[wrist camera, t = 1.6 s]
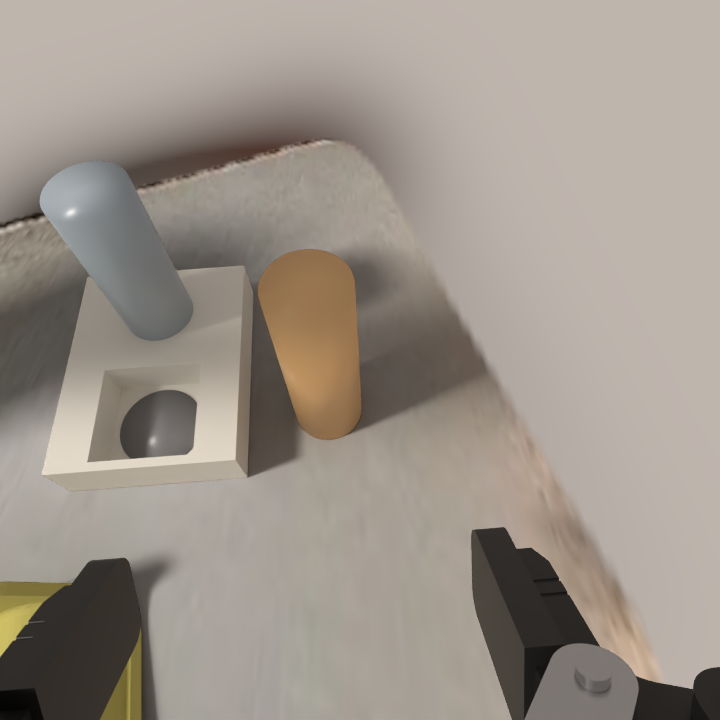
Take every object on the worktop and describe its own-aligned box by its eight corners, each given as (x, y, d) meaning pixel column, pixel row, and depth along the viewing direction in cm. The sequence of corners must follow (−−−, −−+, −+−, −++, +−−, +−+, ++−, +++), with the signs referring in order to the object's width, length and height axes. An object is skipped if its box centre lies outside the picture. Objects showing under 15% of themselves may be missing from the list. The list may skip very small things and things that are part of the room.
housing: (247, 477, 30) (174, 371, 19) (70, 491, 30) (-105, 392, 19) (253, 293, 37) (201, 136, 26) (108, 304, 36) (-7, 150, 26)
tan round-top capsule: (286, 430, 32) (242, 315, 21) (308, 373, 33) (277, 241, 23) (351, 447, 31) (339, 336, 20) (369, 387, 33) (366, 259, 22)
